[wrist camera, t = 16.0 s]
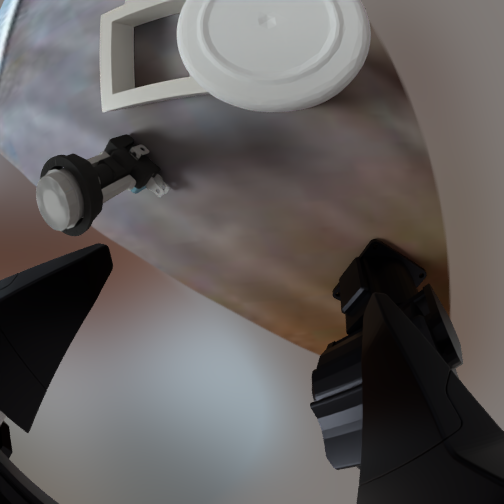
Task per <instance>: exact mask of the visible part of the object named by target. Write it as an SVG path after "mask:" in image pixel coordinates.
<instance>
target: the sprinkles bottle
mask: <svg viewBox="0 0 504 504" xmlns="http://www.w3.org/2000/svg"><path fill="white" fill-rule="evenodd" d="M370 39H371V30H370V23H369V18H368V14H367V12H366V9H365V7H364V5H363V3H362V1H361V0H186V2H185V4H184V6H183V8H182V10H181V13H180V16H179V19H178V25H177V44H178V49H179V53H180V56H181V58H182V61H183V63H184V65H185V67H186V69H187V71H188V72H189V73H190V75H191V76H192V77H193V78H194V80H195V81H196V82H197V83H198V84H199V85H200V86H201V87H202V88H203V89H205V90H206V91H207V92H209V93H210V94H211V95H213V96H214V97H216V98H218V99H220V100H222V101H223V102H226V103H228V104H231V105H233V106H236V107H239V108H243V109H246V110H251V111H257V112H270V113H278V112H291V111H299V110H304V109H307V108H310V107H314V106H316V105H319V104H321V103H323V102H325V101H327V100H329V99H331V98H332V97H334V96H335V95H337V94H338V93H340V92H341V91H342V90H343V89H344V88H345V87H346V86H347V85H349V83H350V82H351V81H352V80H353V79H354V78H355V77H356V76H357V74H358V72H359V71H360V69H361V68H362V66H363V64H364V62H365V60H366V58H367V55H368V51H369V46H370Z"/></svg>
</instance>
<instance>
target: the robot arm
mask: <svg viewBox="0 0 504 504" xmlns="http://www.w3.org/2000/svg"><path fill="white" fill-rule="evenodd" d="M374 244H377V247H373V245H374ZM112 269H113V263H112V259H111V254H110V251H109V247H108V246H107V245H104V244H95V245H92V246H89V247H86V248H83V249H80V250H78V251H75V252H72V253H69V254H66V255H64V256H61V257H59V258H56V259H53V260H50V261H48V262H46V263H42V264H40V265H37V266H35V267H32V268H30V269H27V270H25V271H22V272H20V273H17V274H15V275H13V276H10V277H7V278H5V279H3V280H0V504H58V503H57V502H56V501H55V500H53V499H52V498H51V497H50V496H48V495H47V494H46V493H45V492H43V491H42V490H41V489H40V488H39V487H38V486H36V485H35V484H34V483H33V482H32V481H31V480H30V479H29V478H27V477H26V476H25V475H24V474H23V473H22V472H21V471H20V470H19V469H18V468H17V467H16V466H15V465H14V464H13V463H12V462H11V461H10V460H9V457H10V456H11V454H12V446H11V439H10V431H9V426H8V425H7V424H6V423H5V422H4V419H5V417H6V416H7V417H8V418H9V419H11V420H12V421H13V422H14V423H15V424H17V425H18V426H19V427H20V428H22V429H23V430H25V432H27V433H29V431H30V429H31V426H32V424H33V421H34V419H35V416H36V414H37V411H38V409H39V407H40V404H41V402H42V400H43V398H44V395H45V393H46V391H47V389H48V387H49V384H50V382H51V380H52V378H53V376H54V374H55V372H56V370H57V368H58V366H59V364H60V362H61V361H62V359H63V356H64V355H65V353H66V351H67V349H68V347H69V346H70V344H71V342H72V340H73V339H74V337H75V335H76V333H77V332H78V330H79V328H80V326H81V325H82V323H83V321H84V319H85V318H86V316H87V315H88V313H89V311H90V310H91V308H92V307H93V305H94V303H95V301H96V300H97V298H98V296H99V294H100V292H101V290H102V288H103V286H104V284H105V282H106V280H107V279H108V277H109V275H110V273H111V271H112ZM421 273H423V274H422V275H420V274H421ZM426 275H427V274H426V271H425V270H424V269H423V268H422V267H420V266H419V265H417V264H416V263H414V262H413V261H411V260H409V259H408V258H406V257H405V256H403V255H402V254H400V253H399V252H397V251H395V250H394V249H392V248H391V247H389V246H387V245H386V244H384V243H382V242H381V241H379V240H377V239H373V240H371V241H370V242H369V244H368V245H367V246H366V248H365V249H364V250H363V252H362V253H361V254H360V256H359V257H357V258H355V259H354V260H353V261H352V263H351V264H350V265H349V267H348V268H347V269H346V271H345V272H344V273H343V275H342V276H341V277H340V279H339V283H338V284H337V286H336V287H335V288H334V289H333V297H334V298H336V299H338V300H340V301H341V310H342V313H344V314H345V316H346V332H347V334H348V336H346V337H344V338H342V339H340V340H339V341H337V342H335V341H334V342H332V343H330V344H328V346H327V349H326V350H325V351H324V352H323V353H322V355H321V356H320V358H319V362H318V365H317V369H315V370H314V371H313V373H312V394H313V398H314V402H312V403H311V404H310V406H311V409H312V410H313V412H314V413H315V416H316V417H317V419H318V422H319V424H320V427H321V430H322V434H323V439H324V444H325V452H326V457H327V459H328V460H329V461H330V463H331V464H332V466H333V467H334V468H335V469H337V470H339V469H345V468H350V467H355V466H356V467H357V468H358V469H360V479H359V488H358V497H357V504H504V431H503V430H502V429H501V428H500V427H499V426H498V425H497V424H496V423H495V421H494V420H493V419H492V418H491V417H490V416H489V414H488V413H487V412H486V411H485V409H484V408H483V407H482V406H481V405H480V404H479V403H478V401H477V400H476V399H475V398H474V397H473V396H472V394H471V393H470V392H469V391H468V390H467V388H466V387H465V386H464V385H463V383H462V382H461V381H460V380H459V378H458V375H457V372H456V369H455V368H457V367H458V366H460V365H462V364H463V360H462V352H461V345H460V342H459V339H458V337H457V334H456V332H455V330H454V327H453V325H452V322H451V320H450V318H449V316H448V315H447V313H446V311H445V309H444V307H443V306H442V304H441V302H440V301H439V299H438V297H437V295H436V294H435V292H434V290H433V289H432V287H431V286H430V284H427V285H426V286H425V287H423V290H421V291H420V292H418V290H417V287H418V286H419V285H420V283H421V282H422V281H423V280H424V279H425V277H426ZM337 292H340V294H336V293H337Z"/></svg>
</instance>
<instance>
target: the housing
mask: <svg viewBox="0 0 504 504" xmlns="http://www.w3.org/2000/svg"><path fill="white" fill-rule="evenodd" d="M185 2H186V0H125V4H124V5H122V6H120V7H118V8H115V9H113V10H111V11H109V12H107V13H105V14H103V15H101V26H100V86H101V102H102V112H108V111H114V110H120V109H126V108H131V107H135V106H140V105H144V104H149V103H155V102H160V101H166V100H172V99H178V98H185V97H192V96H201V95H210V93H209V92H207V91H206V90H205V89H203V88H202V87H201V86H200V85H199V84H198V83H197V82H196V81H195V80H194V78H193V77H192V76H191V75H190V73H189V77H185V78H180V79H174V80H169V81H164V82H159V83H154V84H150V85H146V86H142V87H138V88H135V78H134V27H136V26H138V25H141V24H144V23H147V22H150V21H153V20H156V19H160V18H163V17H167V16H170V15H174V14H178V13H181V10H182V8H183V6H184V4H185Z"/></svg>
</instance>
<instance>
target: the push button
mask: <svg viewBox="0 0 504 504" xmlns="http://www.w3.org/2000/svg"><path fill="white" fill-rule="evenodd" d="M133 141H134V139H133V138H132V137H131V136H129V135H127V134H126V135H122V136H119V137H115V138H112V139H110V140H109V142H108V144H107V146H106V148H105V150H104V151H103V152H101V153H100V154H99V155H98V156H95V157H92V158H90V159H87V160H86V159H84V158H82V157H80V156H78V155H76V154H70V155H68V156H66V155H58V156H55V157H52V158H51V159H49V160H48V161H47V162H46V163H45V165H44V167H43V169H42V172H41V176H40V181H39V182H38V185H37V190H36V199H37V204H38V207H39V210H40V213H41V215H42V216H43V218H44V220H45V221H46V223H47V224H48V225H49V226H51V227H52V228H53V229H54V230H59V231H62V232H64V233H65V234H67V235H70V236H79V235H81V234H83V233H84V232H85V231H87V230H88V229H89V227H90V226H91V224H92V222H93V220H94V219H95V218H96V217H97V215H98V214H99V213H100V212H101V210H102V205H103V203H105V202H106V201H108V200H109V199H111V198H113V197H114V196H116V195H118V194H119V193H121V192H123V191H125V190H126V189H127V190H131V191H132V192H133V193H139V192H140V191H141V190H143V189H145V188H147V189H148V190H149V191H151V190H152V191H153V192H154V193H155V194H156V195H157V196H158V197H159V198H161V197H162V195H163V194H166V193H167V192H168V191H169V189H170V187H169V186H168V185H167V184H166V183H165V182H164V181H163V180H162V177H161V176H160V175H158V173H159V172H160V168H159V167H158V166H157V165H156V164H155V163H154V162H152V161H151V160H150V159H149V158H148V157H147V156H146V155H145V154H147V153H149V150H148V149H147V148H146V147H145V146H144V145H138V146H135V145H134V144H133ZM140 148H143V149H144V150H145V151H142V150H141V149H140ZM63 167H64V168H63ZM162 185H164V186H165V187H166V189H165V190H164V189H162ZM157 189H160V193H157V191H156V190H157ZM82 217H83V218H82Z"/></svg>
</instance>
